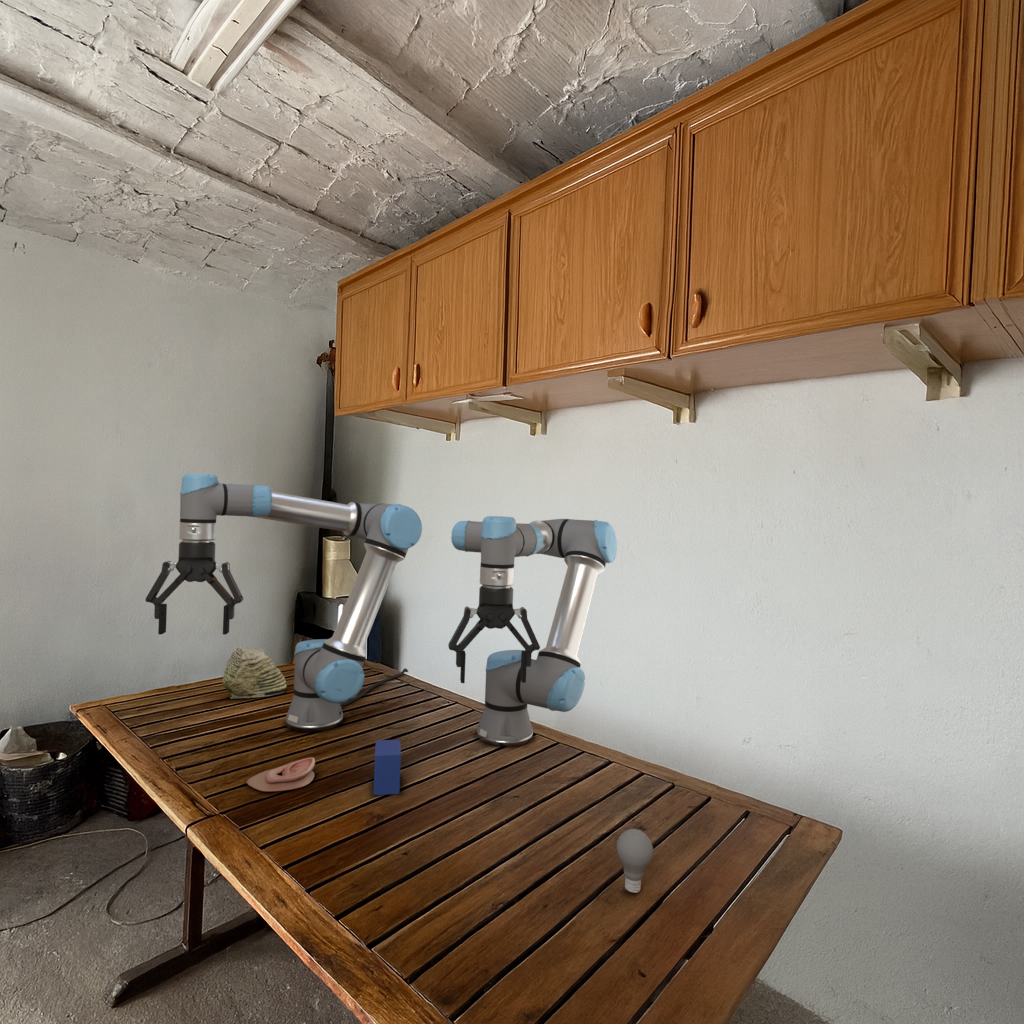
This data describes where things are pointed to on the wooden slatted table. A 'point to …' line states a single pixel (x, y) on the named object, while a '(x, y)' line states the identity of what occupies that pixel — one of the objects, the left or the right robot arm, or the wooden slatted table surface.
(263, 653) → the fossil
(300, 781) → the anatomical model
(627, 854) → the light bulb
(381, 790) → the block
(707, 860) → the wooden slatted table surface
